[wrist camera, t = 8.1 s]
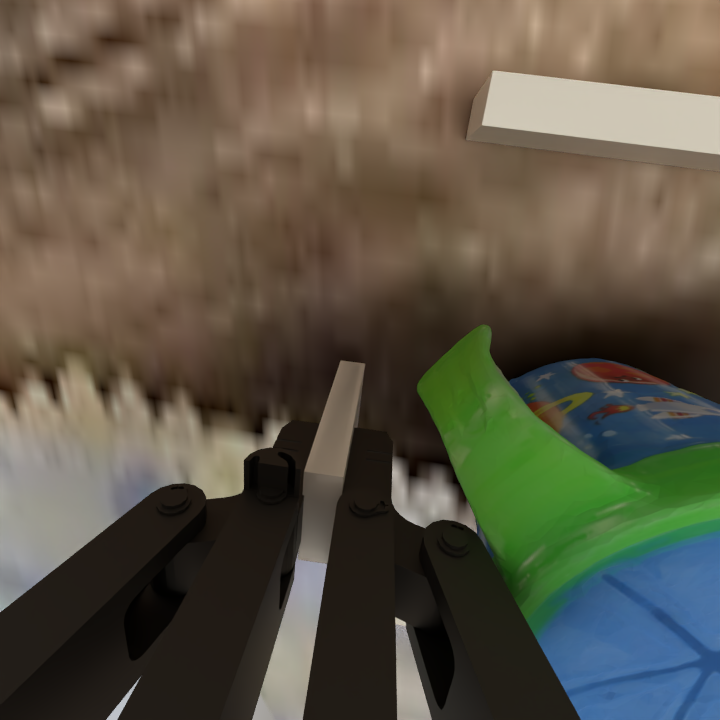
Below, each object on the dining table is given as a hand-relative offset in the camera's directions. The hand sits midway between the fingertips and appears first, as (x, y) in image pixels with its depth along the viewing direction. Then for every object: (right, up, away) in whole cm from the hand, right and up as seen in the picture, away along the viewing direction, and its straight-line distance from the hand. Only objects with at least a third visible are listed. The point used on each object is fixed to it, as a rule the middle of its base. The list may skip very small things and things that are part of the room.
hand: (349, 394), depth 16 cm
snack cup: (+9, -2, +2) cm, 9 cm away
